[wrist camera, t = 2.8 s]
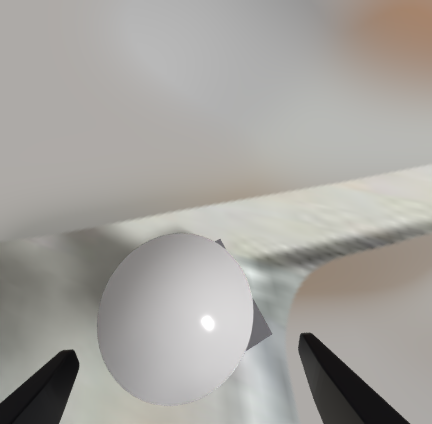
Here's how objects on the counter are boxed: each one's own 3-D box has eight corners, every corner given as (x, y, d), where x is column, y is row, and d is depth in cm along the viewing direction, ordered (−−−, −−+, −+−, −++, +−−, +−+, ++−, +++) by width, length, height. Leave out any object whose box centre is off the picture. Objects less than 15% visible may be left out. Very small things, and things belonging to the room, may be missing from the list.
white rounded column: (233, 319, 17) (283, 343, 5) (188, 346, 16) (124, 450, 4) (211, 274, 18) (210, 212, 7) (168, 296, 18) (81, 271, 6)
